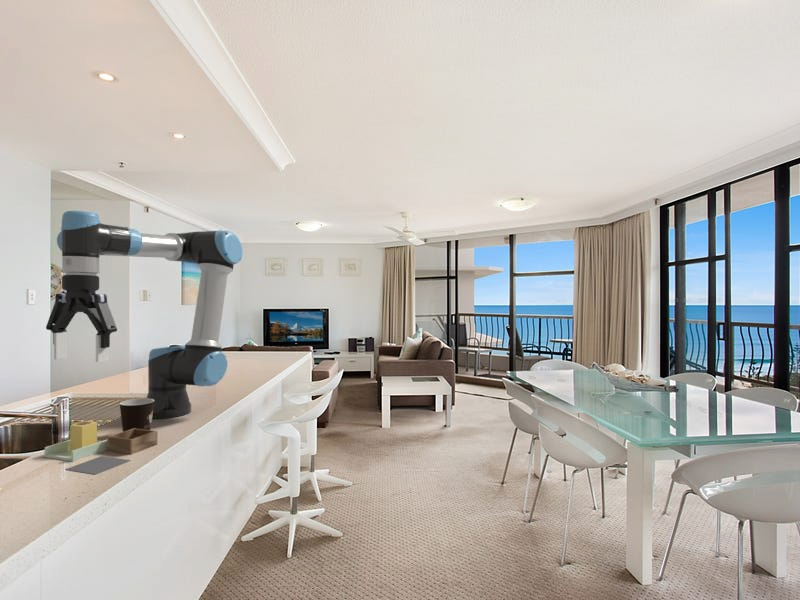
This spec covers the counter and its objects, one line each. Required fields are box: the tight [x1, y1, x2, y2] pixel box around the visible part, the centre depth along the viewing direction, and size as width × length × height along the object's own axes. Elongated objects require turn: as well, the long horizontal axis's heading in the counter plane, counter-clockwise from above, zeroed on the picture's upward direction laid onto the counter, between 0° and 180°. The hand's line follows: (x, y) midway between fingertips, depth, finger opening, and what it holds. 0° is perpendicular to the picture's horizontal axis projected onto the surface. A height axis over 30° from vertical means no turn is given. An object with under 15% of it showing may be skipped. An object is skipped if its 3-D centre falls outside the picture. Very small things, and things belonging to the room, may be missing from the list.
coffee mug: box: [119, 398, 155, 432], centre depth 127 cm, size 12×9×10 cm
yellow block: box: [69, 420, 98, 453], centre depth 112 cm, size 4×4×7 cm
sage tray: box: [44, 439, 107, 463], centre depth 112 cm, size 12×9×3 cm
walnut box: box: [106, 428, 158, 455], centre depth 116 cm, size 8×8×4 cm
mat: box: [65, 455, 131, 476], centre depth 103 cm, size 9×9×1 cm
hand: (81, 360), depth 109 cm, fingers open, 13 cm apart
